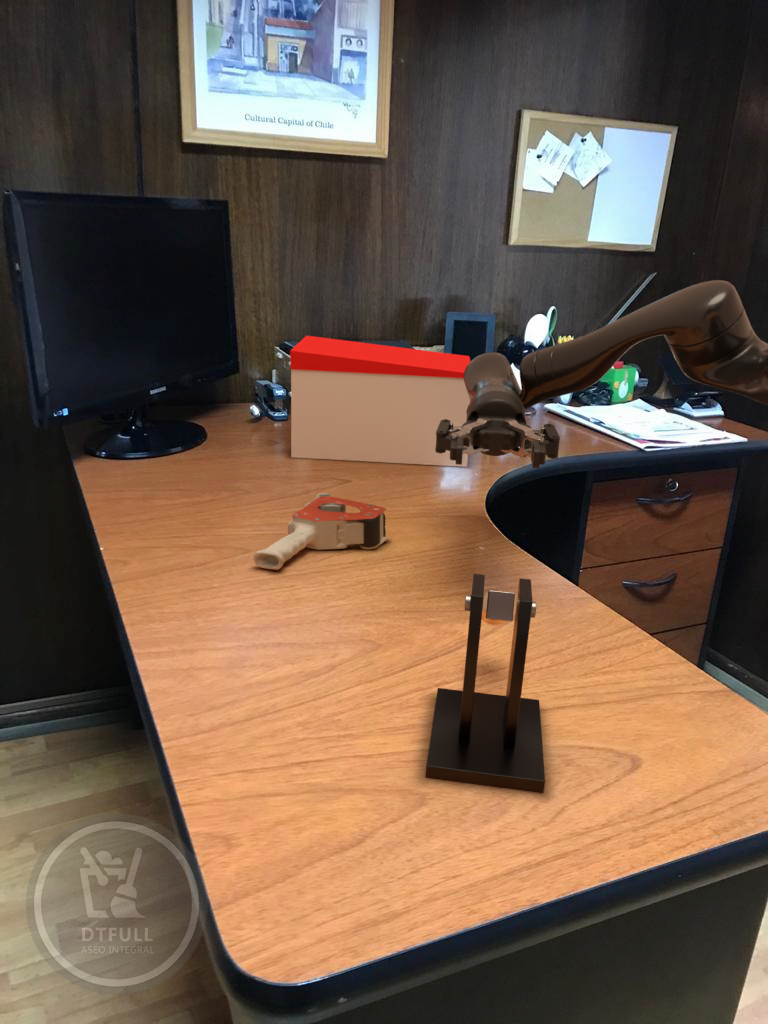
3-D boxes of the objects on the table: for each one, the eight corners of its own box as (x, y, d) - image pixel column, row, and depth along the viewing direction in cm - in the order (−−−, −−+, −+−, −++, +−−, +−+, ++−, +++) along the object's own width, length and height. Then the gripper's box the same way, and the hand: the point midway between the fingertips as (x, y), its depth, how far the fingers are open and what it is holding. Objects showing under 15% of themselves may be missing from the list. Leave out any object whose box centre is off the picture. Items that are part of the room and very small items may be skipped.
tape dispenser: (256, 584, 103) (402, 565, 107) (253, 549, 100) (401, 531, 105) (245, 529, 118) (372, 514, 123) (242, 497, 116) (372, 483, 120)
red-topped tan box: (304, 430, 172) (305, 335, 164) (462, 439, 170) (470, 343, 163) (289, 457, 152) (288, 350, 145) (467, 467, 151) (475, 360, 144)
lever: (475, 623, 82) (478, 589, 82) (509, 627, 81) (512, 593, 82) (477, 624, 65) (481, 582, 65) (520, 629, 64) (524, 586, 65)
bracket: (436, 697, 77) (448, 553, 72) (537, 710, 76) (557, 564, 71) (425, 777, 66) (437, 613, 61) (543, 792, 65) (567, 627, 59)
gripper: (548, 448, 101) (559, 493, 86) (439, 443, 102) (431, 486, 88) (554, 392, 98) (566, 428, 83) (441, 387, 100) (434, 422, 85)
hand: (497, 458), depth 85 cm, fingers open, 8 cm apart
